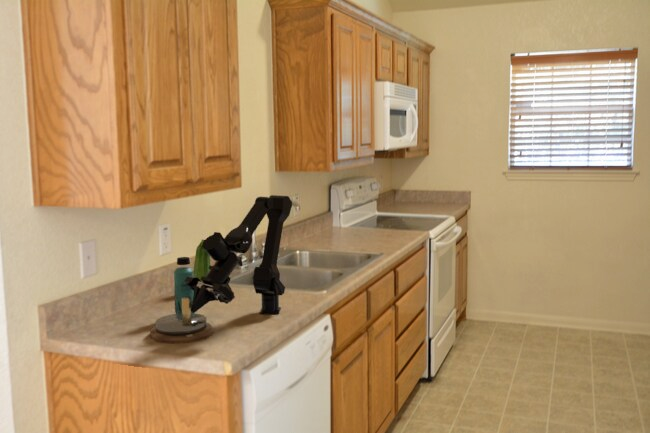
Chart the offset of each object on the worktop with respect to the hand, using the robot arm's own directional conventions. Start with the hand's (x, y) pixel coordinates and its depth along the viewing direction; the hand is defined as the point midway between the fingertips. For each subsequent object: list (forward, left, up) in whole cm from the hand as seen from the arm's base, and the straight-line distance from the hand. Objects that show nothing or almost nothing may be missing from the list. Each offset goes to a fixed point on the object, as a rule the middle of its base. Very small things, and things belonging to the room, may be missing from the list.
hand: (192, 311), depth 197 cm
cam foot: (-5, -5, -6) cm, 9 cm away
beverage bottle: (-22, -8, -8) cm, 24 cm away
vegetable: (-57, -10, -8) cm, 58 cm away
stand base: (-5, -5, -8) cm, 10 cm away
